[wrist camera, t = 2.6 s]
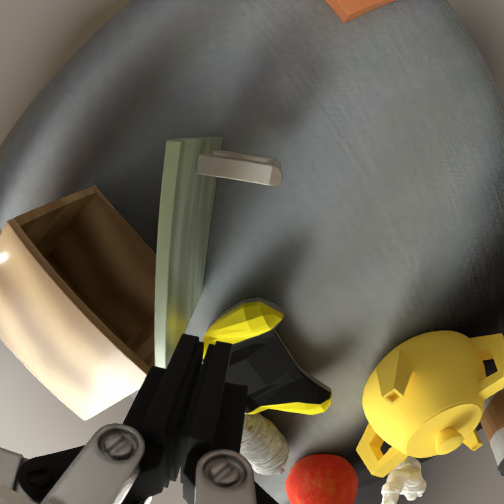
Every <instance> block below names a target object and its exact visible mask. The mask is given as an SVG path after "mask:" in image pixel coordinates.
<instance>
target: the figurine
mask: <svg viewBox="0 0 504 504" xmlns="http://www.w3.org/2000/svg"><path fill="white" fill-rule="evenodd" d="M389 450H390V449H388V451H389ZM425 489H426V482H425V480H424V479H423V478H422V475H421V464H420V462H419V460H417V459H415V458H414V457H411V456H408V457H407V458H406V459H404V460H403V461H402V462H401V463H400V464H399V465H398V466H396V467H395V468H394V469H393V470H392V471H391V472H390V474H389V476H388V479H387V483H386V484H384V485H383V487H382V491H381V493H382V495H383V498H382V503H381V504H397V503H396V502H397V500H398V498H399V494H403V495H405V496H406V497H407V500H415V499H416V497H417V496H418V497H421V496H422V494H421V493H424V491H425ZM419 494H420V495H419Z"/></svg>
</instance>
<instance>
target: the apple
mask: <svg viewBox="0 0 504 504" xmlns="http://www.w3.org/2000/svg"><path fill="white" fill-rule="evenodd" d="M285 485H286V492H287V495H288V498H289V501H290V503H291V504H353V503H354V500H355V497H356V494H357V489H358V478H357V475H356V472H355V470H354V468H353V467H352V466H351V465H350V463H349V462H348V461H347V460H346V459H345V458H343V457H340V456H338V455H331V454H313V455H310V456H306V457H303V458H302V459H300V460H299V461H297V462H296V463H295V464H294V465H293V467H292V468H291V470H290V472H289V475H288V477H287V479H286V484H285Z"/></svg>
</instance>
